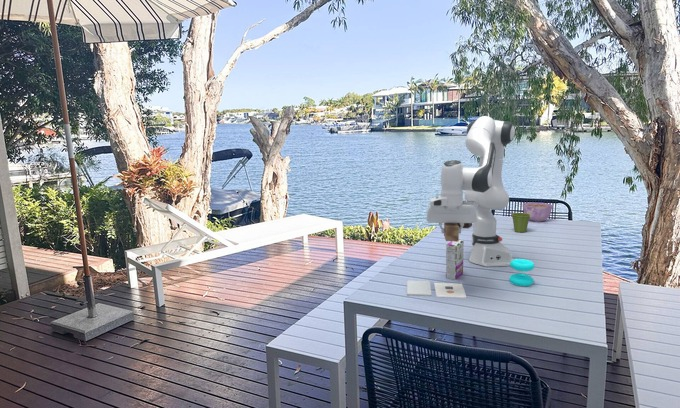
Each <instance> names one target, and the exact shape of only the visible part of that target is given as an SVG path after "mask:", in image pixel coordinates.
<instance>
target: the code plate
mask: <svg viewBox="0 0 680 408" xmlns="http://www.w3.org/2000/svg"><path fill="white" fill-rule="evenodd" d="M433 284H434V290H435V296H436V297H440V298H467V295H466V291H465V288H464V286H463V283H453V282H451V283H449V282H434V283H433Z"/></svg>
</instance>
